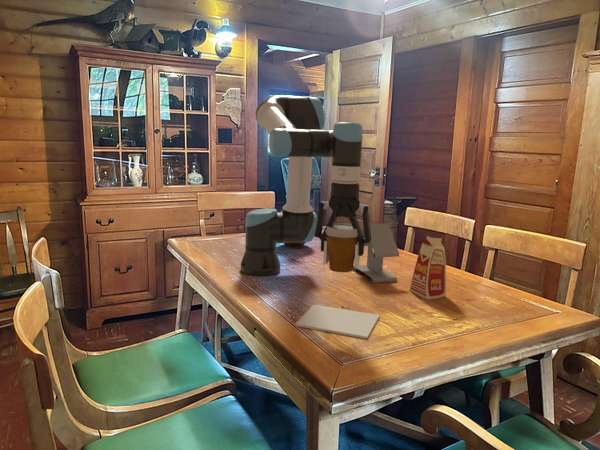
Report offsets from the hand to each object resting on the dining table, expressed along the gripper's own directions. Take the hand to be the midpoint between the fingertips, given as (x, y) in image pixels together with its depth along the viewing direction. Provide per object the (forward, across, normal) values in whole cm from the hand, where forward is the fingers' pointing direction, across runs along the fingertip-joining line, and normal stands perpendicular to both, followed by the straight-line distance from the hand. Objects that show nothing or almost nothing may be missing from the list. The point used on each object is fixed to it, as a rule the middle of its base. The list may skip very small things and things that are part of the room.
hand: (341, 264), depth 126 cm
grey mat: (+16, 0, 0) cm, 16 cm away
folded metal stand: (+17, 0, +48) cm, 51 cm away
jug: (+17, -44, +79) cm, 92 cm away
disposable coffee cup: (+1, 0, 0) cm, 1 cm away
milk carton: (+17, +21, +36) cm, 45 cm away
